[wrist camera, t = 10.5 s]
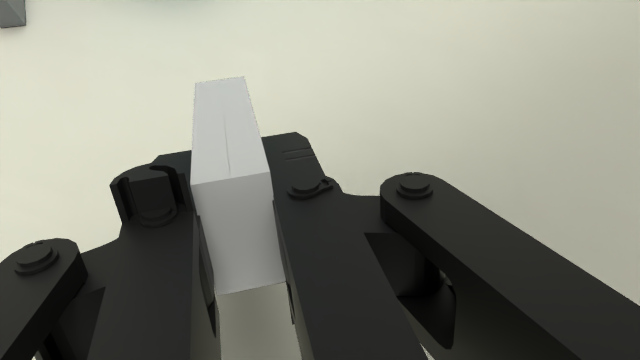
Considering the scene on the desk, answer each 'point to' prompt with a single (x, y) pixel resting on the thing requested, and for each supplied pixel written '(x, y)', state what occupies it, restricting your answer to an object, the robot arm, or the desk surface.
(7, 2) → the dock bay
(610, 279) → the desk surface
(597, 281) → the robot arm
